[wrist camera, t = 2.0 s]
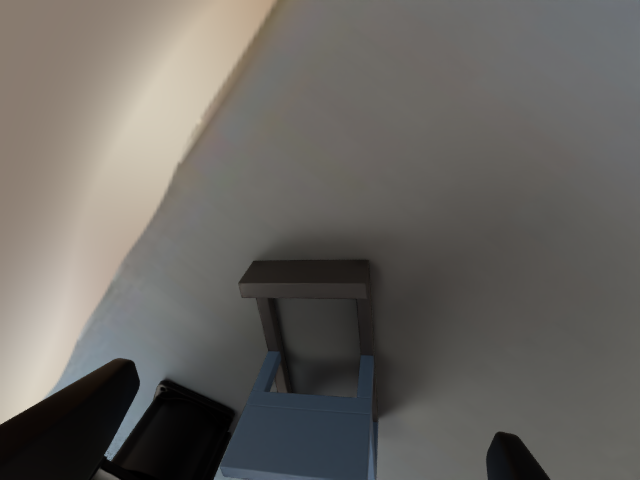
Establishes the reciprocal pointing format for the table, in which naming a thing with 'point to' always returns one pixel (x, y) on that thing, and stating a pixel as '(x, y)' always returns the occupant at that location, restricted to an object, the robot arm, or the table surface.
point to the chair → (302, 409)
